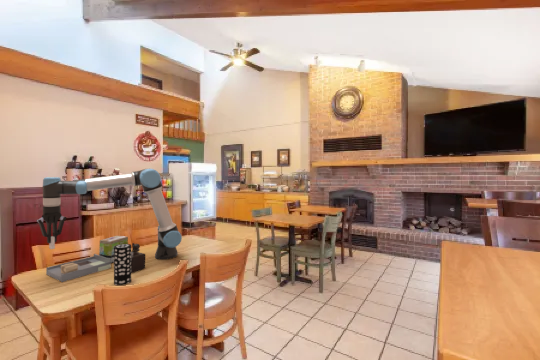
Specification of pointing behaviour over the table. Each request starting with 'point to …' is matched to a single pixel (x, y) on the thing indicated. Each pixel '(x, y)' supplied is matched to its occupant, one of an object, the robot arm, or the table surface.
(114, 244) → the tea box
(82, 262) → the track
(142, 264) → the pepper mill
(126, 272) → the spotted tube
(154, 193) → the robot arm
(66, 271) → the block
